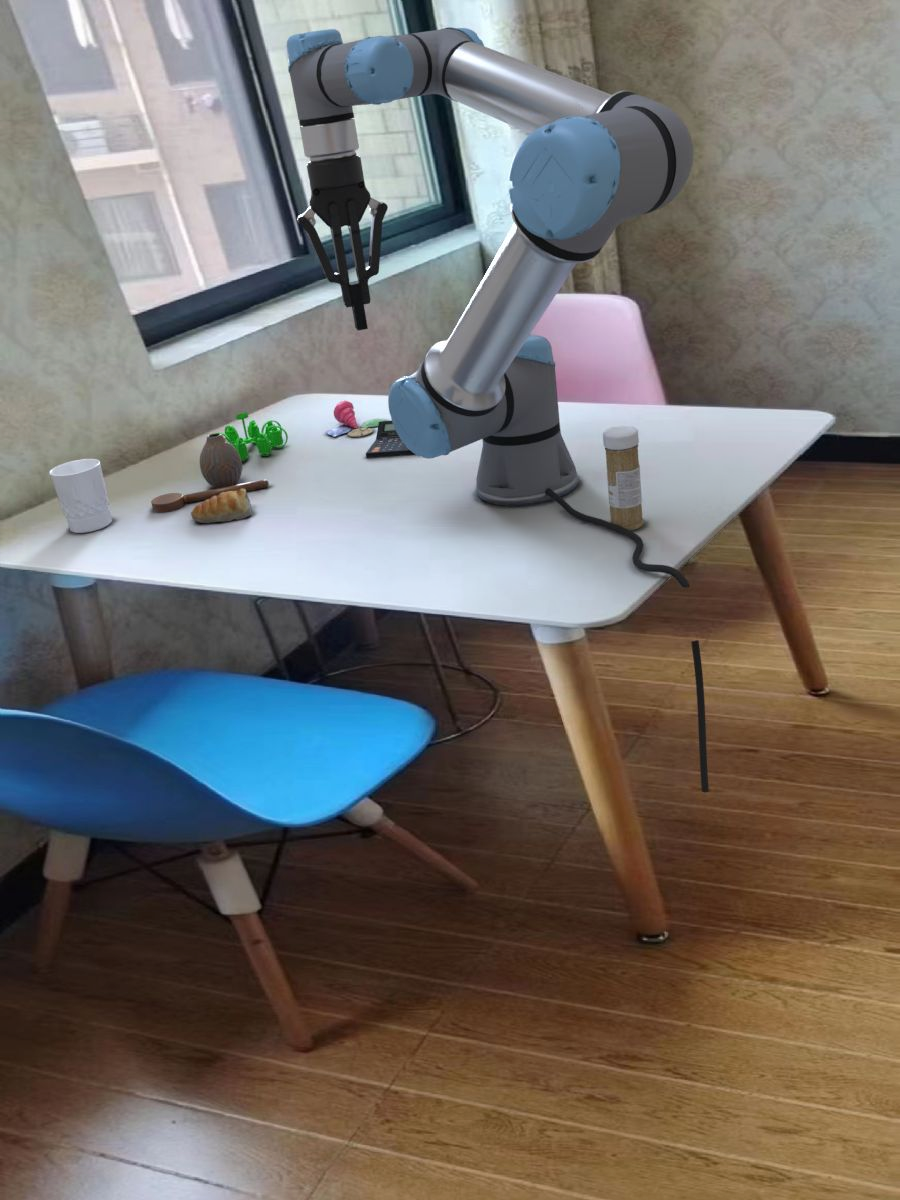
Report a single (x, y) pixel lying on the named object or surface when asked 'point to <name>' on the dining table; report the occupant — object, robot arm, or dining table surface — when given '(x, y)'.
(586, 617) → the dining table surface
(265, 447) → the chandelier
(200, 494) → the wooden spoon
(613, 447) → the sprinkles bottle
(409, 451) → the calculator
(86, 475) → the white cup
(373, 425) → the toy pieces
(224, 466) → the vase
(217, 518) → the pastry
